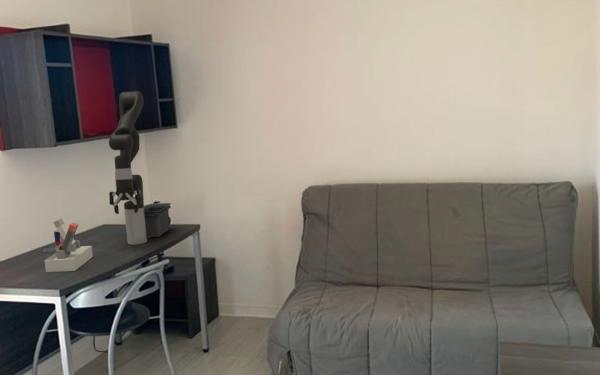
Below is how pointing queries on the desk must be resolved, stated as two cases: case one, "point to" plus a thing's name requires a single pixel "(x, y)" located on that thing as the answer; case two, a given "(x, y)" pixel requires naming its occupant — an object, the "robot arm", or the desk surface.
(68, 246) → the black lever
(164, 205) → the storage bin
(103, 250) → the desk surface
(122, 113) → the robot arm
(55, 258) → the switch box
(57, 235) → the energy drink
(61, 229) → the ivory lever
